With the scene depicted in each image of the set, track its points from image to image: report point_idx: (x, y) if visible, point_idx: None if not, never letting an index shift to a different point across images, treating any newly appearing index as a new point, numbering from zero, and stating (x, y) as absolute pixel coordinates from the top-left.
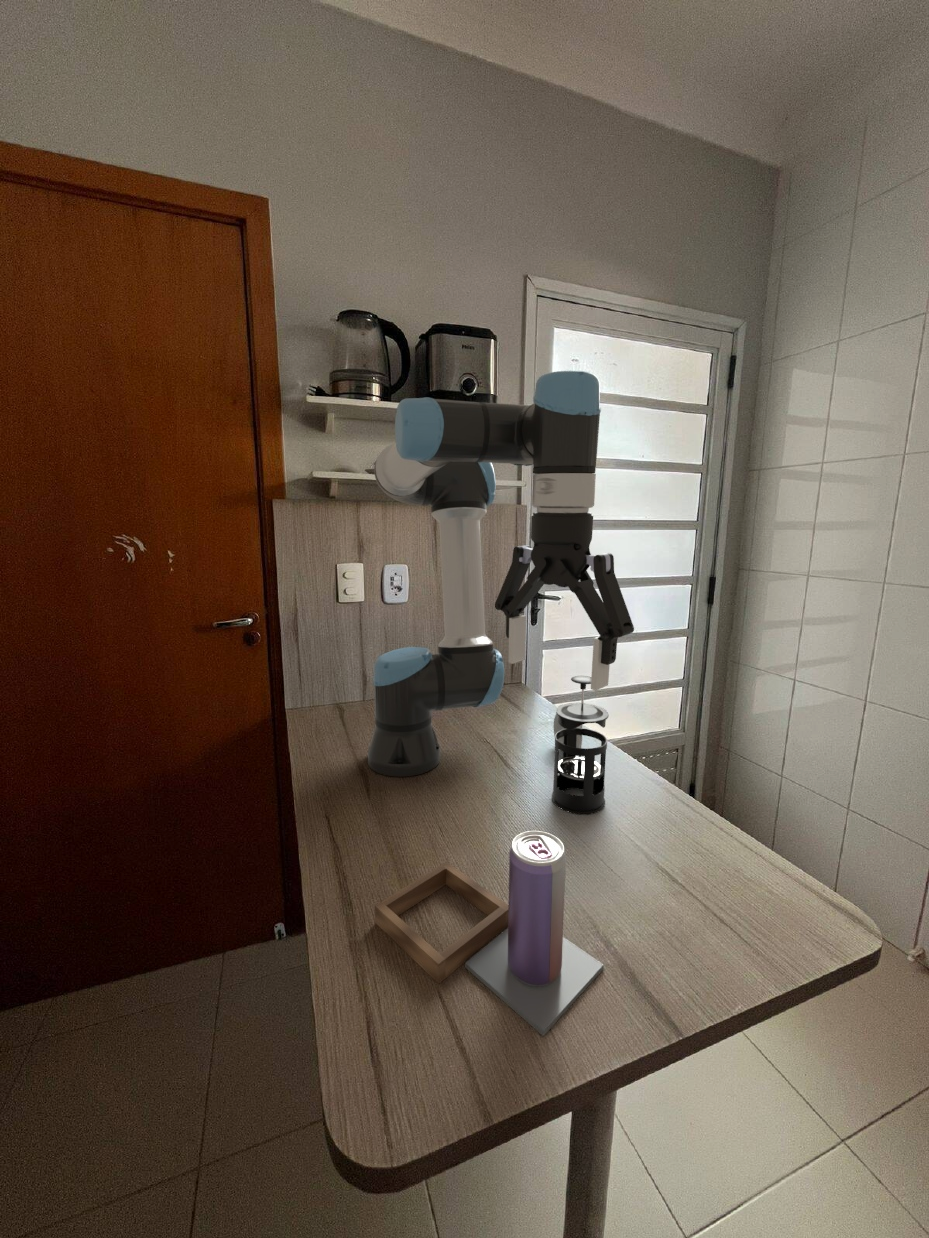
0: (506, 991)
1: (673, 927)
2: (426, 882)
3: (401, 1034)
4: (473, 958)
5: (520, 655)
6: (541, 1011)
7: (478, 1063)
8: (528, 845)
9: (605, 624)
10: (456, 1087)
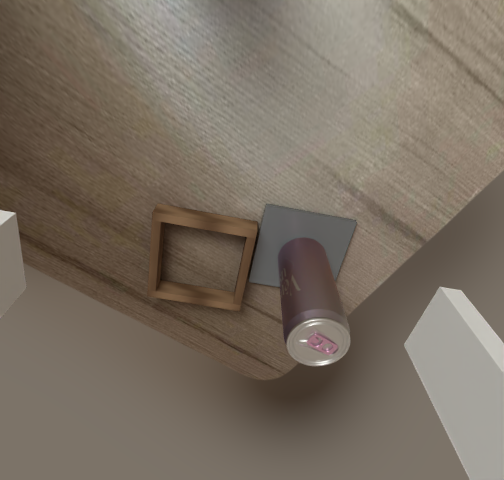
0: None
1: (417, 127)
2: (159, 245)
3: (244, 334)
4: (251, 275)
5: (2, 260)
6: None
7: None
8: (304, 338)
9: None
10: None
